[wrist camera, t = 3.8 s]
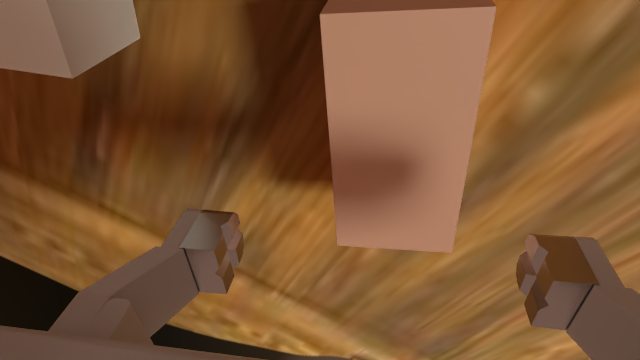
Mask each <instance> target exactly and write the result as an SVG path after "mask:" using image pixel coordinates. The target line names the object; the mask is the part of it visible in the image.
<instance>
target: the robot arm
mask: <svg viewBox="0 0 640 360" xmlns="http://www.w3.org/2000/svg"><path fill="white" fill-rule="evenodd" d="M239 224H240V221H239V217H238V214H236V213H234V212H223V211H213V210H199V209H189V208H188V209H187V210H185V211H184V212H183V214H182V215H181V217H180V218H179V220H178V221H177V223H176V224H175V226H174V227H173V229H172V230H171V232H170V233H169V235H168V236H167V238H166V239H165V241H164V243H163V244H162V246H161V247H154V248H153V249H151V250H149V251H148V252H146V253H144V254H143V255H141V256H139V257H137V258H136V259H134V260H132V261H131V262H129V263H127V264H126V265H124V266H122V267H121V268H119V269H117V270H116V271H114V272H112V273H110V274H109V275H107V276H105V277H104V278H102V279H100V280H99V281H97V282H95V283H94V284H92V285H90V286H89V287H87V288H85V289H84V290H82V291H80V292H78V294H77V295H76V296H75V298H74V299H73V300H72V302H71V303H70V304H69V305H68V306H67V308H66V309H65V310H64V312H63V313H62V314H61V315H60V317H59V318H58V319H57V321H56V322H55V323H54V324H53V326H52V327H51V328H50V330H49V331H48V332H46V331H38V330H30V329H22V328H14V327H6V326H0V360H264V359H256V358H248V357H240V356H232V355H225V354H217V353H209V352H201V351H194V350H186V349H178V348H170V347H162V346H155V345H153V343H152V342H151V339H150V337H151V336H152V335H153V334H154V333H155V332H156V331H157V330H159V328H161V327H162V326H163V325H164V324H165V323H166V322H168V321H169V320H170V319H171V318H172V317H173V316H174V315H175V314H177V313H178V312H179V311H180V310H181V309H182V308H183V307H184V306H186V305H187V304H188V303H189V302H190V301H191V300H192V299H193V298H195V297H196V296H197V295H198V294H199V292H207V293H220V294H227V292H228V290H229V287H230V285H231V283H232V280H233V278H234V272H233V268H234V267H236V266H237V265H238V264H239V263H240V261H241V258H242V254H243V249H244V239H243V234H242V233H241V232H240V231H239V230H238V229H237V228H238V226H239ZM524 245H525V248H526V250H527V251H526V252H525V253H523V254H522V255H520V257H519V259H518V262H517V269H516V277H517V283H518V286H519V290H520V291H521V292H523V293H524V294H525V295H526V296H527V298H526V301H525V303H524V305H525V308H526V311H527V315H528V318H529V321H530V324H531V326H536V327H544V328H552V329H560V330H567V331H566V332H567V333H568V334H569V336H570V337H571V338H572V339H573V340H574V341H575V342H576V343H577V344H578V345H579V346H580V347H581V348H582V349H583V351H584V352H585V353H586V354H587V355H588V356H589V357H590V358H591V359H592V360H640V294H639V293H637V292H636V291H634V290H633V289H631V288H625V287H624V285H623V284H622V282H621V280H620V279H619V277H618V275H617V273H616V272H615V270H614V268H613V267H612V265H611V263H610V262H609V260H608V258H607V257H606V255H605V253H604V252H603V250H602V248H601V247H600V245H599V243H598V242H597V240H595V239H594V238H589V237H573V236H572V237H569V236H554V235H539V234H530V235H529V236H528V237H527V239H526V241H525V244H524Z"/></svg>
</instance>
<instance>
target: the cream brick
mask: <svg viewBox="0 0 640 360" xmlns="http://www.w3.org/2000/svg"><path fill="white" fill-rule="evenodd" d="M138 39H140V33H139V29H138V24H137V19H136V15H135V10H134V5H133V0H0V68H3V69H10V70H17V71H24V72H31V73H37V74H44V75H51V76H58V77H65V78H71V79H73V78H75V77H77V76H78V75H80V74H82V73H83V72H85V71H87V70H88V69H90V68H92V67H93V66H95V65H97V64H98V63H100V62H102V61H103V60H105V59H107V58H108V57H110V56H112V55H113V54H115V53H117V52H118V51H120V50H122V49H123V48H125V47H127V46H128V45H130V44H132V43H133V42H135V41H137V40H138Z"/></svg>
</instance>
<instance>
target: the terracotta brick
mask: <svg viewBox="0 0 640 360" xmlns="http://www.w3.org/2000/svg"><path fill="white" fill-rule="evenodd" d="M496 7H497V6H496V5H495V4H494V3H493V1H492V0H328V1H327V3H326V5H325V6H324V8H323V10H322V11H321V13H320V25H321V38H322V51H323V63H324V76H325V89H326V102H327V115H328V128H329V141H330V154H331V167H332V180H333V193H334V206H335V219H336V232H337V245H338V246H354V247H369V248H385V249H401V250H416V251H432V252H447V253H452V250H453V245H454V239H455V234H456V228H457V223H458V217H459V212H460V206H461V200H462V195H463V189H464V184H465V178H466V173H467V167H468V162H469V156H470V151H471V145H472V140H473V134H474V128H475V123H476V117H477V112H478V106H479V101H480V95H481V90H482V84H483V79H484V73H485V68H486V62H487V56H488V51H489V45H490V40H491V34H492V29H493V23H494V18H495V12H496Z"/></svg>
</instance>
